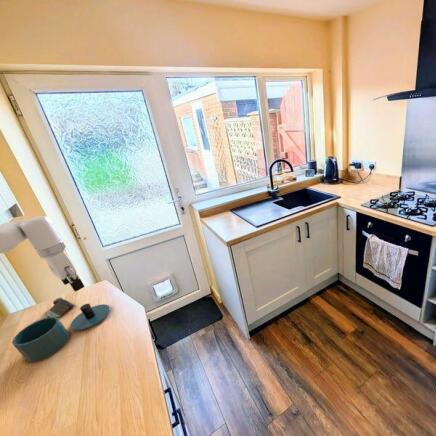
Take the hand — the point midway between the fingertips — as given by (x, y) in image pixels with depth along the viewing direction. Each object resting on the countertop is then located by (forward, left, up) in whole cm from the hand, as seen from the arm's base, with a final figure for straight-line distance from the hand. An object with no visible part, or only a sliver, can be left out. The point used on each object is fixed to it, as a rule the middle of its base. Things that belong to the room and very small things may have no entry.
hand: (74, 285), depth 97 cm
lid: (-1, -1, -16) cm, 16 cm away
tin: (-15, -1, -17) cm, 23 cm away
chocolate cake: (-6, +19, -17) cm, 26 cm away
